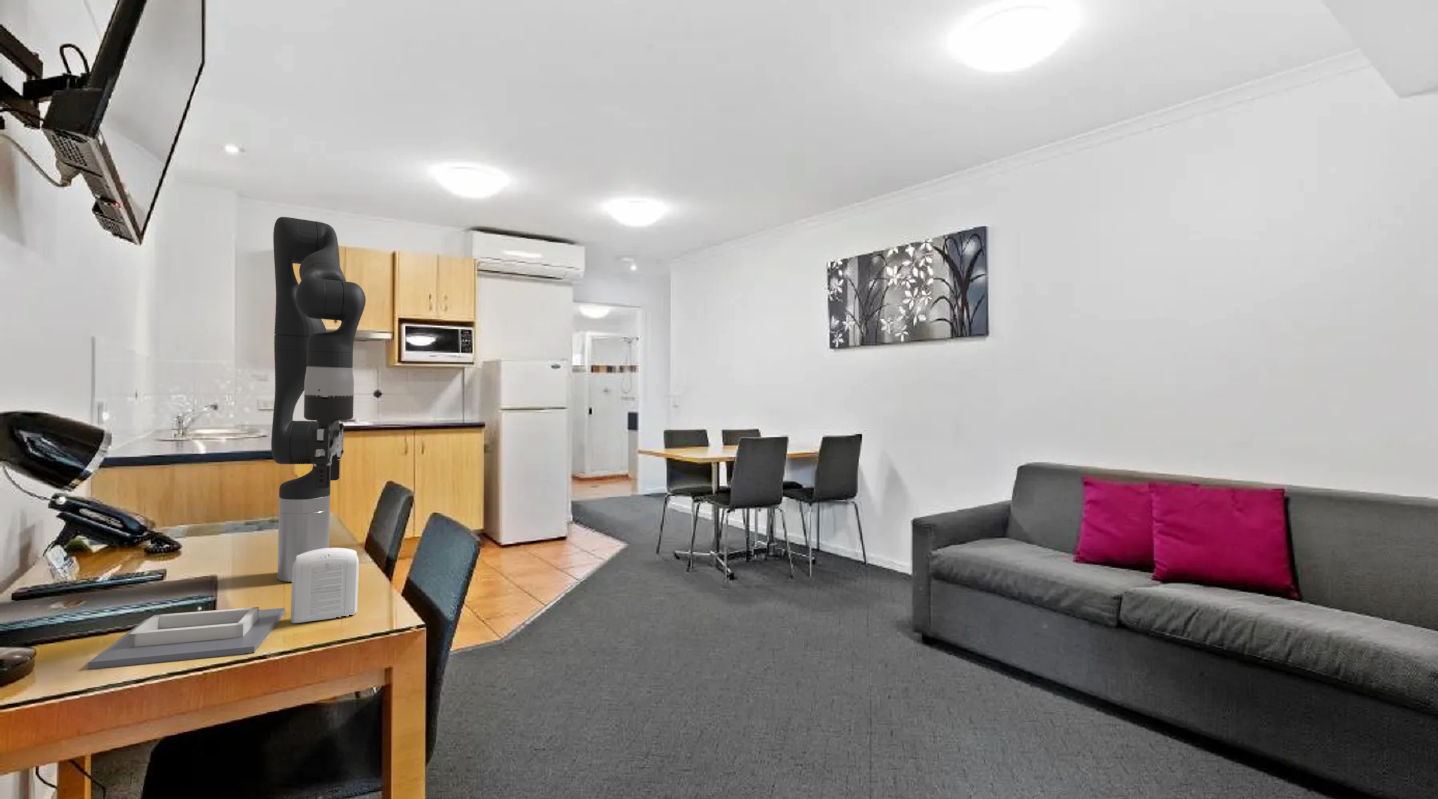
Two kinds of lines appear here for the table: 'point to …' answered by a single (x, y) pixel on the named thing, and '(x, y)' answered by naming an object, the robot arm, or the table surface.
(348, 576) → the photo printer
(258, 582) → the table surface
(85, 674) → the table surface
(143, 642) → the dock
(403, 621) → the table surface
